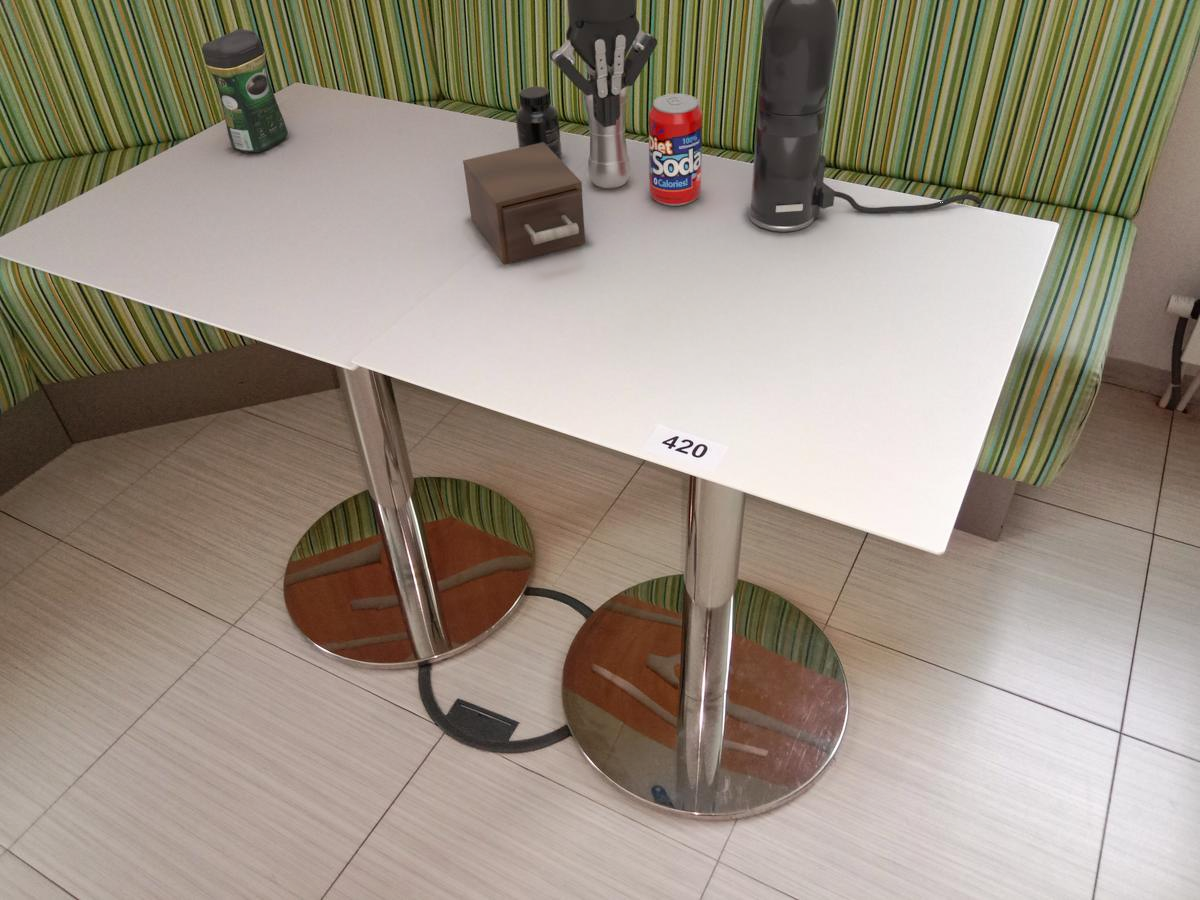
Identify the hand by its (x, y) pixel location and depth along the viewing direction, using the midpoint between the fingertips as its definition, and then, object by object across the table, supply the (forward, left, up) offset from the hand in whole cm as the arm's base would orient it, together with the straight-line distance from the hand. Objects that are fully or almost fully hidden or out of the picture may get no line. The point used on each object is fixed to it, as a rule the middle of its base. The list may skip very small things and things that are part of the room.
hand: (607, 123), depth 115 cm
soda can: (-19, -19, -23) cm, 35 cm away
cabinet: (+5, -20, -23) cm, 31 cm away
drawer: (+5, -16, -22) cm, 28 cm away
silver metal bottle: (-12, -28, -23) cm, 38 cm away
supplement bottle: (-5, -40, -23) cm, 47 cm away
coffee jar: (+36, -72, -23) cm, 84 cm away
